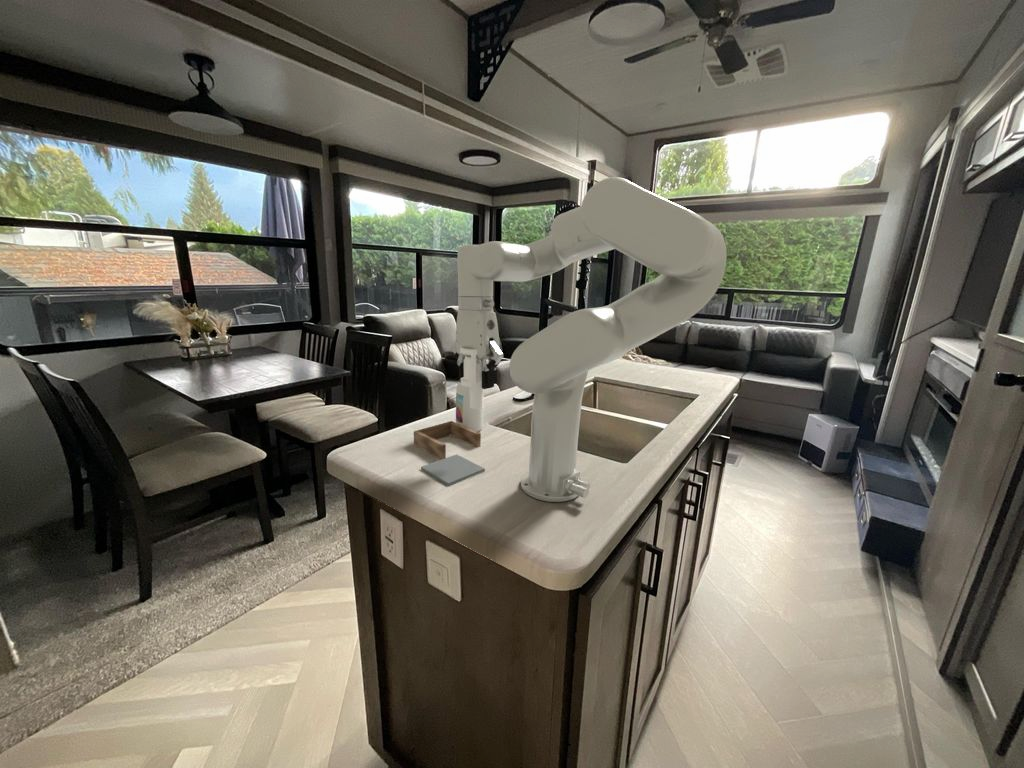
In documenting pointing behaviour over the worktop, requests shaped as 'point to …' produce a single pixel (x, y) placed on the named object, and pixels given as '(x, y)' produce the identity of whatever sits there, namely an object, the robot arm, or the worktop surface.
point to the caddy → (429, 435)
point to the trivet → (452, 469)
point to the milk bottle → (467, 410)
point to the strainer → (473, 377)
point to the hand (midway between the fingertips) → (476, 384)
